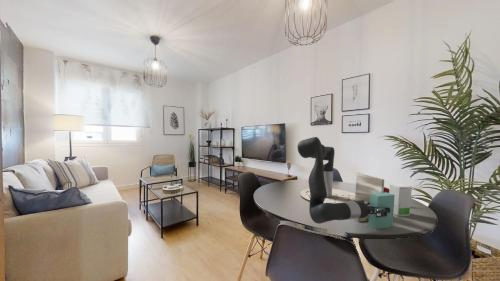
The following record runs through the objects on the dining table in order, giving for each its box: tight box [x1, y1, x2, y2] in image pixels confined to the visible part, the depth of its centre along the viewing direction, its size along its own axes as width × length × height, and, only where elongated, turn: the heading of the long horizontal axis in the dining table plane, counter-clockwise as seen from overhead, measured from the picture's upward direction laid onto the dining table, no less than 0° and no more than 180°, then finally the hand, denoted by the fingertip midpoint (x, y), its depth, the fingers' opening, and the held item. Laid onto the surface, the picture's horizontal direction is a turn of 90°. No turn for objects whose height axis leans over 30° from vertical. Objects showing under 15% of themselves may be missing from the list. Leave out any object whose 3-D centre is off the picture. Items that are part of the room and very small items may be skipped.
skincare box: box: [388, 183, 413, 217], centre depth 111 cm, size 8×7×16 cm
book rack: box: [353, 172, 385, 223], centre depth 109 cm, size 15×16×20 cm
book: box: [368, 192, 395, 230], centre depth 95 cm, size 10×4×15 cm, turn 107°
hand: (381, 206), depth 95 cm, fingers open, 7 cm apart
